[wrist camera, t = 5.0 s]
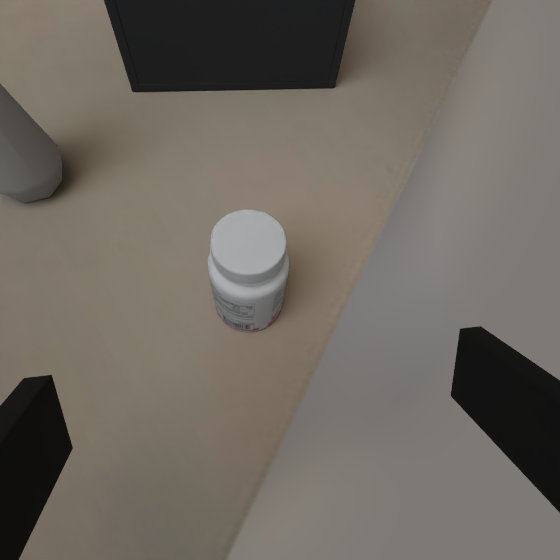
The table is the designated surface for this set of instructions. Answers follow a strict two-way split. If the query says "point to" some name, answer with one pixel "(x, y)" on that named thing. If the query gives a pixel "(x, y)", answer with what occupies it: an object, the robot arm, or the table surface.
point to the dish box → (230, 43)
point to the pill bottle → (248, 269)
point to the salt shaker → (26, 154)
